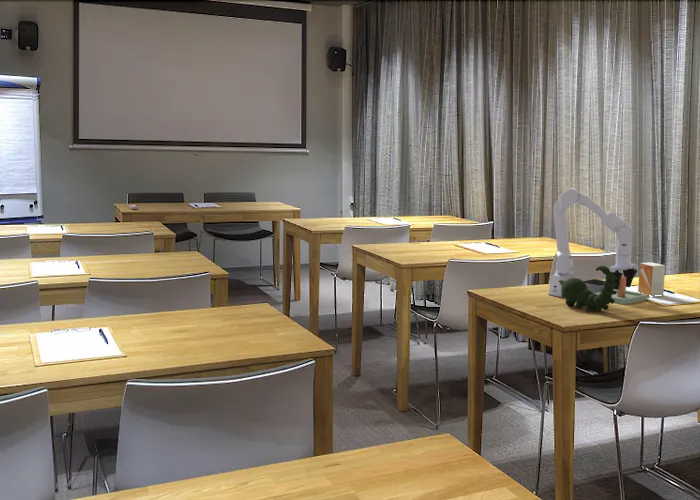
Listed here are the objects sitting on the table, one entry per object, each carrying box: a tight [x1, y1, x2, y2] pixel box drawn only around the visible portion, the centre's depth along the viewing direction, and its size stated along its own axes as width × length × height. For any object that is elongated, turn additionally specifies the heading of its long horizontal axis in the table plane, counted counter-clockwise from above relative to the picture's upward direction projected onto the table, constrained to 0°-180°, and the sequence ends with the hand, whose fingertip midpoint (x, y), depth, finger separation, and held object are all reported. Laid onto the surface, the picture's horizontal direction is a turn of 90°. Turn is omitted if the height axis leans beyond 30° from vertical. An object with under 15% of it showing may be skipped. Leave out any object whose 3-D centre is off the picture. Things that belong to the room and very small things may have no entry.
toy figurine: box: [559, 265, 617, 312], centre depth 275 cm, size 9×19×25 cm
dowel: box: [617, 275, 627, 297], centre depth 292 cm, size 3×3×8 cm
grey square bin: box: [582, 278, 616, 294], centre depth 309 cm, size 13×13×4 cm
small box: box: [637, 261, 666, 296], centre depth 300 cm, size 8×6×13 cm
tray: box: [595, 289, 650, 306], centre depth 293 cm, size 16×14×2 cm
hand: (621, 288), depth 292 cm, fingers open, 7 cm apart
